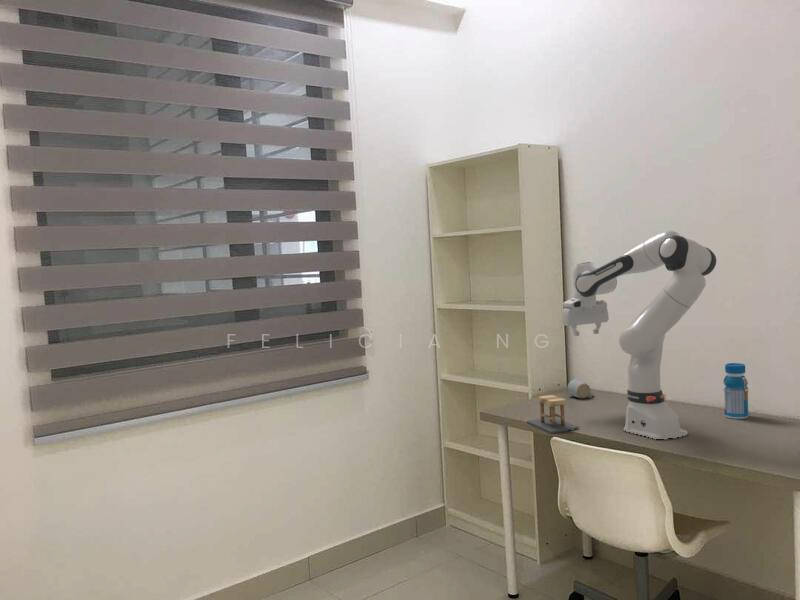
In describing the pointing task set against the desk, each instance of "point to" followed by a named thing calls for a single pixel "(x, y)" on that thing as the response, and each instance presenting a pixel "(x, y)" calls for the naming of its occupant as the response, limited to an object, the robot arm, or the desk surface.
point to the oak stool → (552, 408)
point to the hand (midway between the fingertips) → (586, 334)
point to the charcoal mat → (548, 425)
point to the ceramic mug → (579, 389)
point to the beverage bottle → (735, 391)
